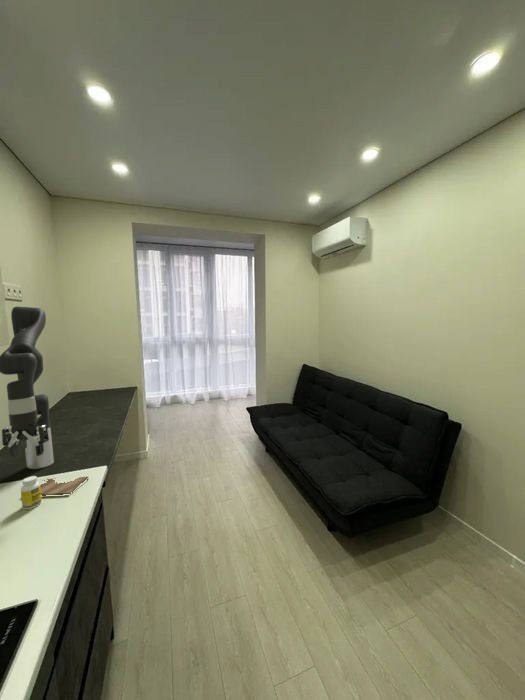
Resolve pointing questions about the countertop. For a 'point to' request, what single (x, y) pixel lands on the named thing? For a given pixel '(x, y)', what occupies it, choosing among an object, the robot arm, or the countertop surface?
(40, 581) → the countertop surface
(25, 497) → the supplement bottle
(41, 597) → the countertop surface
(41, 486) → the walnut board
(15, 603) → the countertop surface
